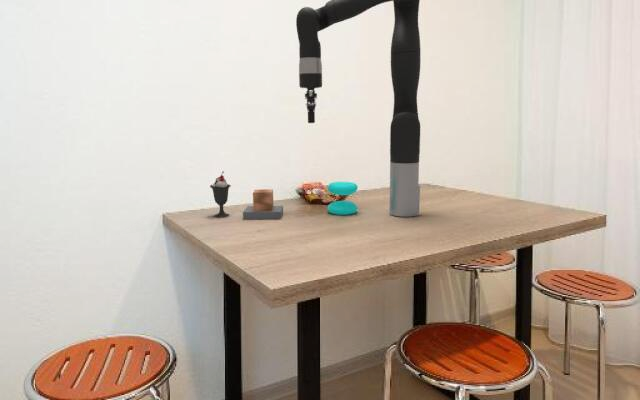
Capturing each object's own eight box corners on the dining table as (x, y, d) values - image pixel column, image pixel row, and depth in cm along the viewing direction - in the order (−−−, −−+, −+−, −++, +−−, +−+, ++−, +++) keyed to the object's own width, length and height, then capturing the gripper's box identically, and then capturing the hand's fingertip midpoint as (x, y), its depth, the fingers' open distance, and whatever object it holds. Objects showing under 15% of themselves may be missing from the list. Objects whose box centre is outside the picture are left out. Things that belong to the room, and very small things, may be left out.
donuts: (336, 186, 155) (322, 182, 164) (336, 216, 157) (322, 211, 166) (363, 184, 159) (348, 180, 168) (362, 213, 161) (348, 208, 170)
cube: (273, 207, 161) (273, 189, 160) (272, 210, 155) (271, 192, 154) (255, 207, 161) (254, 189, 160) (253, 211, 155) (252, 192, 154)
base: (283, 214, 164) (283, 205, 163) (280, 221, 154) (280, 211, 154) (247, 214, 164) (247, 206, 164) (243, 221, 154) (242, 212, 154)
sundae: (227, 218, 157) (225, 172, 154) (208, 217, 158) (205, 171, 155) (235, 213, 163) (233, 169, 160) (216, 213, 164) (214, 169, 162)
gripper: (322, 70, 152) (323, 123, 155) (321, 74, 166) (322, 122, 169) (298, 71, 152) (299, 123, 155) (299, 74, 166) (300, 122, 169)
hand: (311, 122), depth 162 cm, fingers open, 8 cm apart
